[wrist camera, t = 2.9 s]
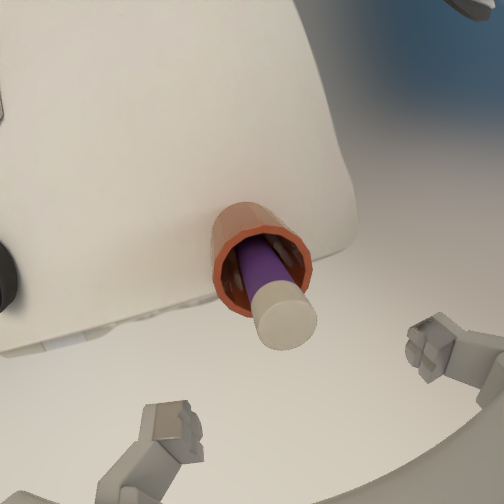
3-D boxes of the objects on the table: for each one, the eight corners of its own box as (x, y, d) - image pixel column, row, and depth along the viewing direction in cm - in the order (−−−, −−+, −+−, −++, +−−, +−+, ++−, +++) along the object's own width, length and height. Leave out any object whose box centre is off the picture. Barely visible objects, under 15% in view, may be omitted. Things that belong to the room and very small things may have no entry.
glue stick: (257, 219, 24) (314, 292, 11) (264, 247, 25) (319, 340, 12) (228, 227, 24) (251, 310, 11) (235, 254, 25) (264, 357, 12)
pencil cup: (271, 194, 24) (304, 214, 16) (284, 257, 26) (317, 302, 18) (203, 212, 24) (200, 241, 15) (221, 274, 26) (228, 328, 18)
